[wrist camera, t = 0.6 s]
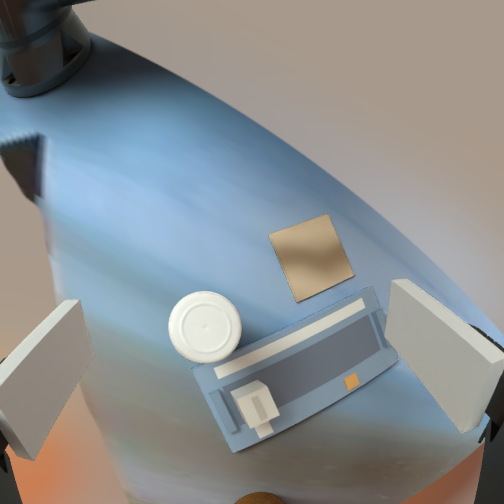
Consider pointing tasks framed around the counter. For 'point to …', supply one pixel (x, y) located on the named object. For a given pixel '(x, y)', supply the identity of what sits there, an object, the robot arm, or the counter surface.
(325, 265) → the cork coaster
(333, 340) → the switch board
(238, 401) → the ivory tab
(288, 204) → the counter surface
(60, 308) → the robot arm
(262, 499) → the disposable coffee cup
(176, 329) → the sprinkles bottle
